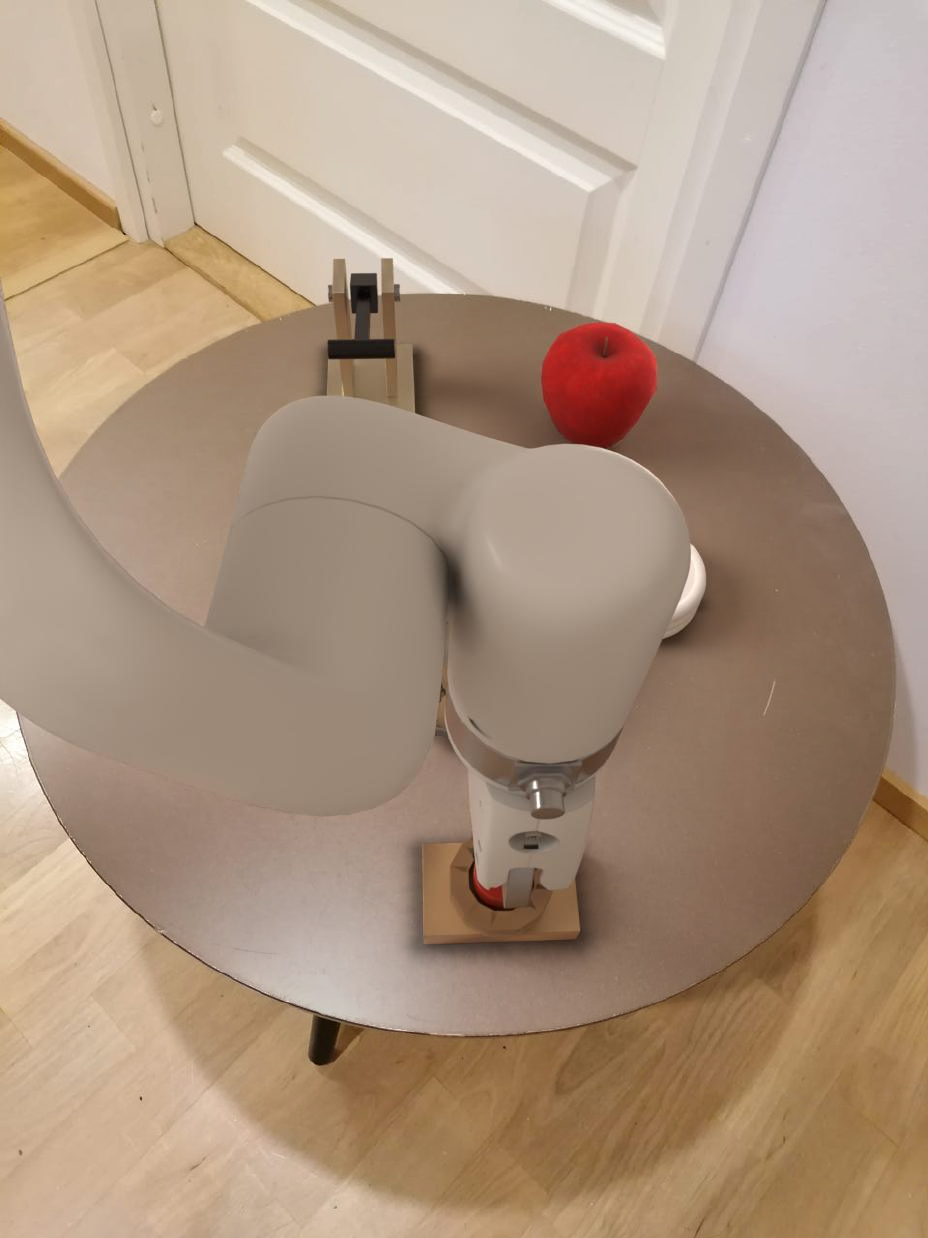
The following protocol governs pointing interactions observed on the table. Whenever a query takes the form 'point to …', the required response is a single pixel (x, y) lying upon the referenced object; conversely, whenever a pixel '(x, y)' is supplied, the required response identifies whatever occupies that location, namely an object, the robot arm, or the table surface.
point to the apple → (597, 383)
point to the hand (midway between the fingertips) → (499, 845)
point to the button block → (471, 920)
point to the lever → (362, 324)
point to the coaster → (689, 595)
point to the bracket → (371, 376)
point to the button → (488, 893)
